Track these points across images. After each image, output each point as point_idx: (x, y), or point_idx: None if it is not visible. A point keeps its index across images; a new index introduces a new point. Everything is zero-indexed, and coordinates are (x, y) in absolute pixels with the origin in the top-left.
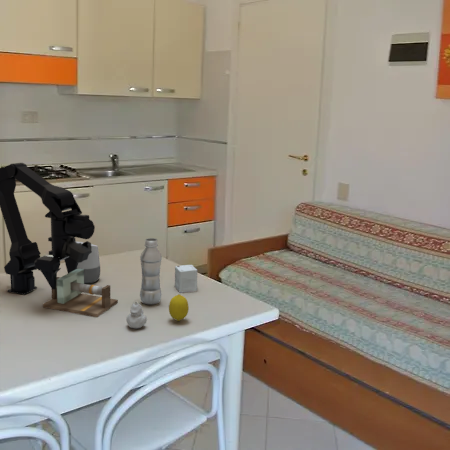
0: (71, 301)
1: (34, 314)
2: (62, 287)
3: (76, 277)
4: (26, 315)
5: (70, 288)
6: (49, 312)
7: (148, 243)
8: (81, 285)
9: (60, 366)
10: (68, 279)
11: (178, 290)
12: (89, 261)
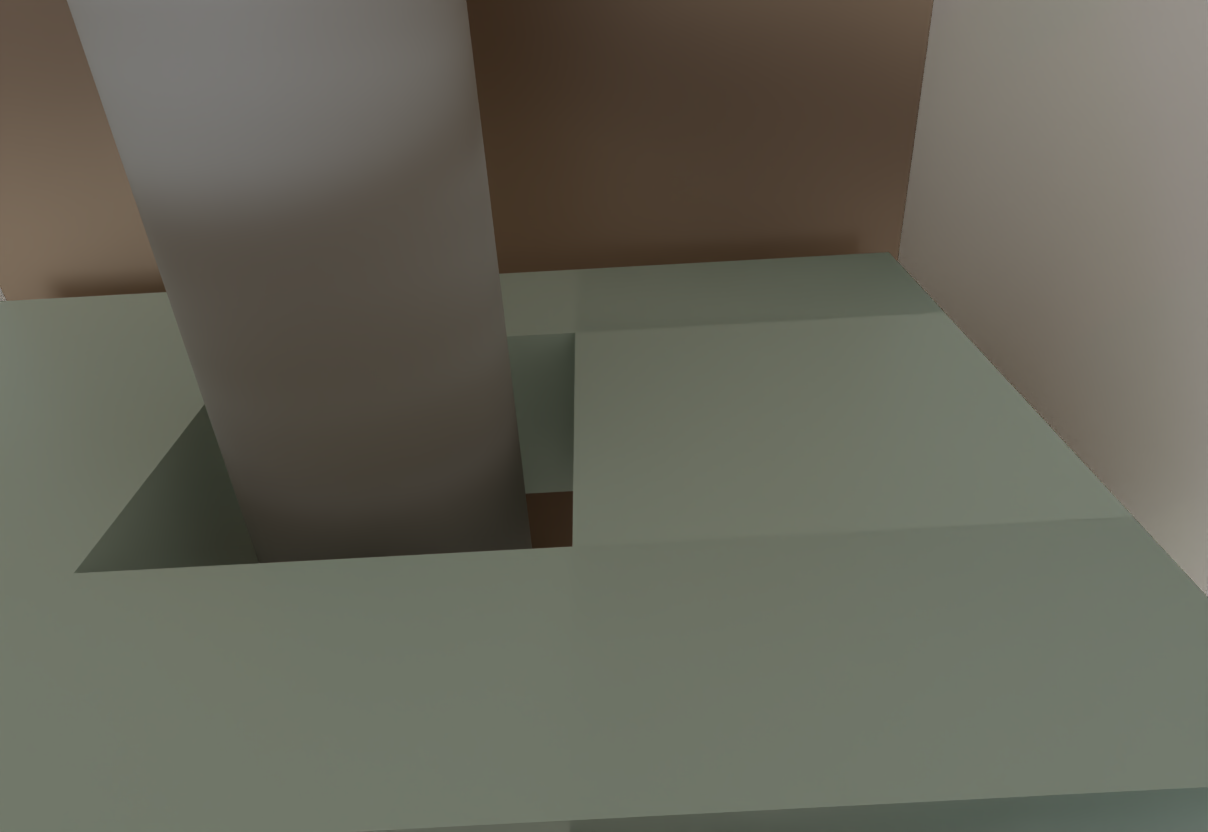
0: (517, 269)
1: (1140, 499)
2: (1103, 515)
3: (52, 641)
4: (1197, 562)
5: (575, 415)
6: (1008, 361)
7: None
8: (354, 55)
9: None
10: (744, 695)
11: None
12: None
